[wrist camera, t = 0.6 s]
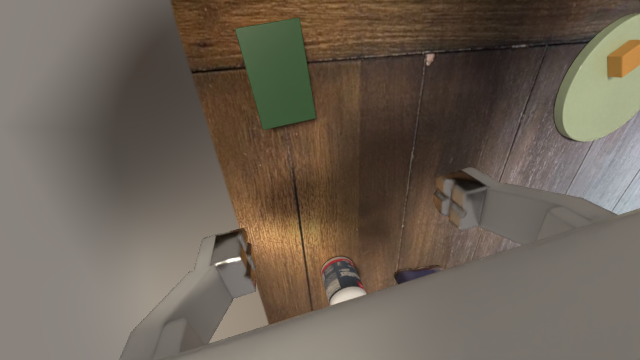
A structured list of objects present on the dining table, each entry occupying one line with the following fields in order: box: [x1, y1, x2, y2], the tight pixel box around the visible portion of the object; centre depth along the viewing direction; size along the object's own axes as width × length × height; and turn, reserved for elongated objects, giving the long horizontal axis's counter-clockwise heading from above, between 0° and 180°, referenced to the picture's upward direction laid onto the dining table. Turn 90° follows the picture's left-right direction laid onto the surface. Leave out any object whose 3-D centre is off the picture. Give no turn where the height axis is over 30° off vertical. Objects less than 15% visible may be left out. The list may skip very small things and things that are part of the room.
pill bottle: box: [321, 257, 366, 306], centre depth 35 cm, size 5×5×9 cm
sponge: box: [235, 18, 316, 130], centre depth 23 cm, size 8×5×4 cm, turn 9°
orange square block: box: [607, 40, 640, 78], centre depth 31 cm, size 3×3×2 cm
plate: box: [554, 12, 640, 141], centre depth 34 cm, size 16×16×1 cm
